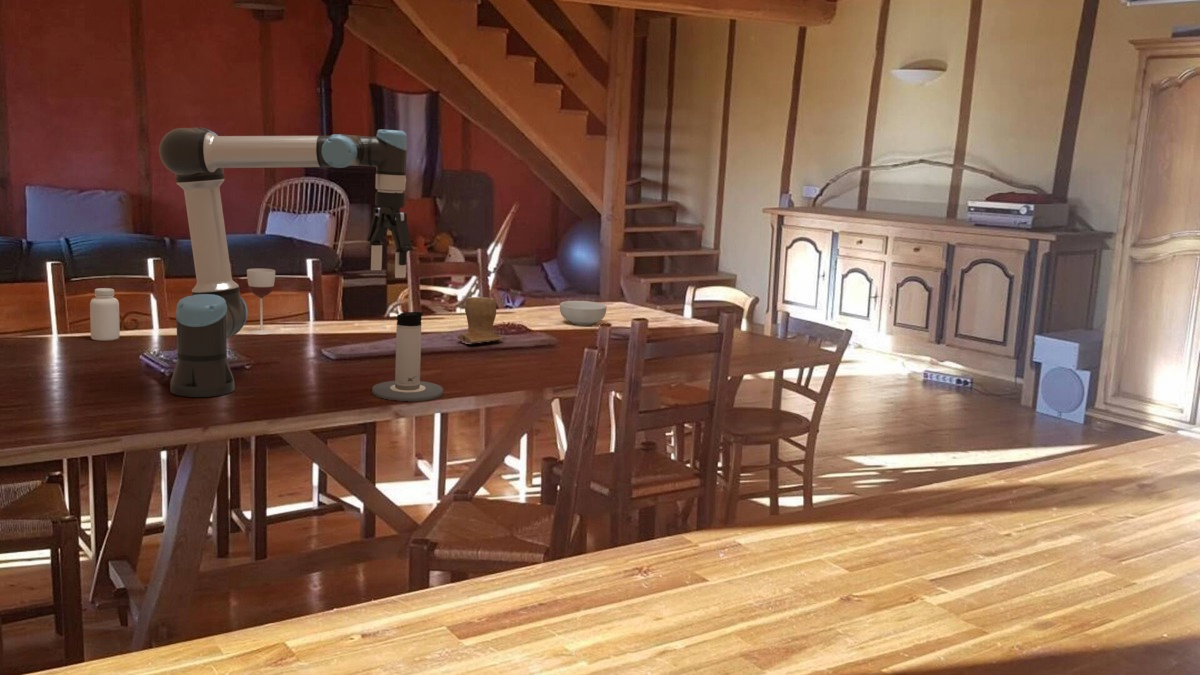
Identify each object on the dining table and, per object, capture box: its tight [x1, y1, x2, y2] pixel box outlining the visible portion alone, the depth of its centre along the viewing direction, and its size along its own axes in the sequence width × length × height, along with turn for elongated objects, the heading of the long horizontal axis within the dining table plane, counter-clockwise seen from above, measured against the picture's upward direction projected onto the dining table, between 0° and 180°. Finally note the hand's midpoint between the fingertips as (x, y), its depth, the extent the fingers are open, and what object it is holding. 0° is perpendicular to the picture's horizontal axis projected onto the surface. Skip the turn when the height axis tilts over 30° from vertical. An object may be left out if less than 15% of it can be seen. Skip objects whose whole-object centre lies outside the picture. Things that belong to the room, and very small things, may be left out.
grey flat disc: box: [371, 380, 444, 403], centre depth 282 cm, size 18×18×1 cm
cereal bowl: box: [559, 300, 607, 326], centre depth 396 cm, size 17×17×7 cm
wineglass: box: [246, 268, 276, 335], centre depth 347 cm, size 8×9×20 cm
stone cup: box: [457, 296, 504, 343], centre depth 351 cm, size 15×12×15 cm
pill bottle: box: [89, 287, 121, 342], centre depth 326 cm, size 8×8×15 cm
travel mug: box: [394, 311, 424, 390], centre depth 280 cm, size 6×7×20 cm
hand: (388, 273), depth 282 cm, fingers open, 13 cm apart
